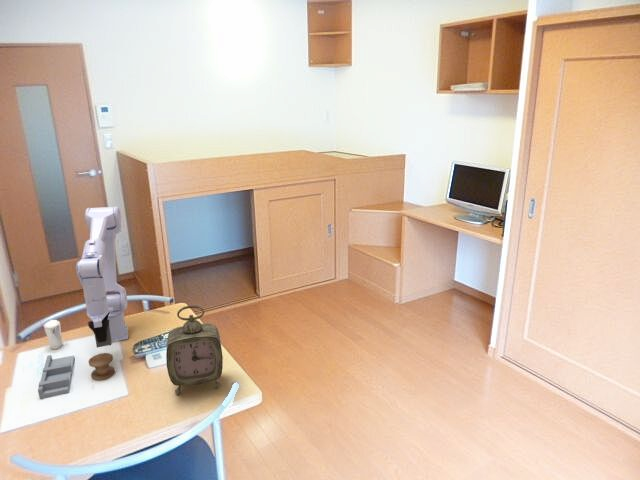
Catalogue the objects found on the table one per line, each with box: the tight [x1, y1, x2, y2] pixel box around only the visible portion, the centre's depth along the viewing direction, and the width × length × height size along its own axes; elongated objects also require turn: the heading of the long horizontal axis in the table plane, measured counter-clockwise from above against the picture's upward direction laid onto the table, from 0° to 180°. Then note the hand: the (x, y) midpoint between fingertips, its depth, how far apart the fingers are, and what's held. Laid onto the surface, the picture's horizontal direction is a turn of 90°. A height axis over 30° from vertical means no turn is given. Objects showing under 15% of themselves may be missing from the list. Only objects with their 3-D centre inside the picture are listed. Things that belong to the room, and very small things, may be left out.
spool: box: [88, 352, 116, 381], centre depth 134 cm, size 6×6×5 cm
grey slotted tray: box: [37, 354, 76, 400], centre depth 133 cm, size 18×7×3 cm, turn 22°
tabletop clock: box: [165, 304, 224, 395], centre depth 126 cm, size 14×9×25 cm, turn 105°
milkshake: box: [39, 319, 63, 350], centre depth 147 cm, size 5×5×10 cm
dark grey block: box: [94, 325, 112, 348], centre depth 139 cm, size 4×4×6 cm
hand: (102, 337), depth 139 cm, fingers closed on dark grey block, 4 cm apart
